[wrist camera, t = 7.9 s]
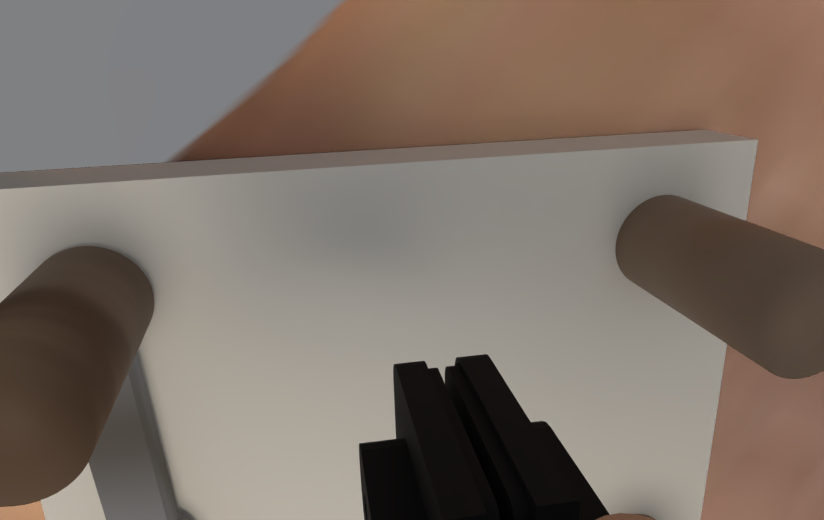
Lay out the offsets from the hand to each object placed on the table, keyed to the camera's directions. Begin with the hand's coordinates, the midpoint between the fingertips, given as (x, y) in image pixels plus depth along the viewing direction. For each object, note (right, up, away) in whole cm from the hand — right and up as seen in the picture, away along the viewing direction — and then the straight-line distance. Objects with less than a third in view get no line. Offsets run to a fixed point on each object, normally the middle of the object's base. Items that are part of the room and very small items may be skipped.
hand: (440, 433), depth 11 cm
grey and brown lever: (-8, -2, +6) cm, 11 cm away
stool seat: (-1, -2, +11) cm, 12 cm away
